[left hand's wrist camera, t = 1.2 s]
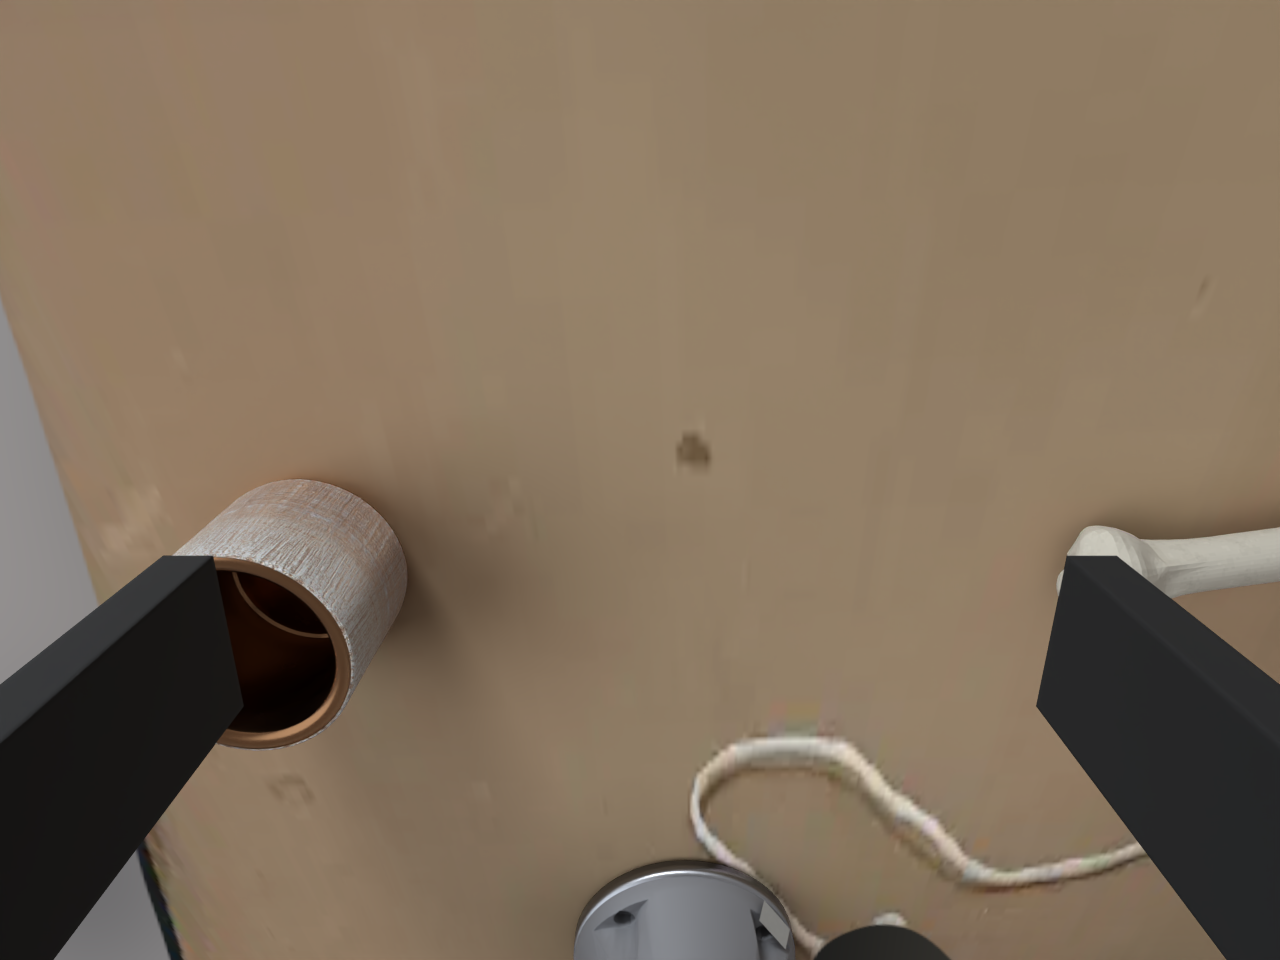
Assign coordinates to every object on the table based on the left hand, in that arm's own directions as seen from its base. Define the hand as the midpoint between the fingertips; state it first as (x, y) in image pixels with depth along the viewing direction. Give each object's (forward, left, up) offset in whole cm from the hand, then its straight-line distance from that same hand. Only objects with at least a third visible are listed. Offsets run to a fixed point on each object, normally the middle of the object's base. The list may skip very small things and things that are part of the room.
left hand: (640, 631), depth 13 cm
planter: (-17, +17, -31) cm, 39 cm away
